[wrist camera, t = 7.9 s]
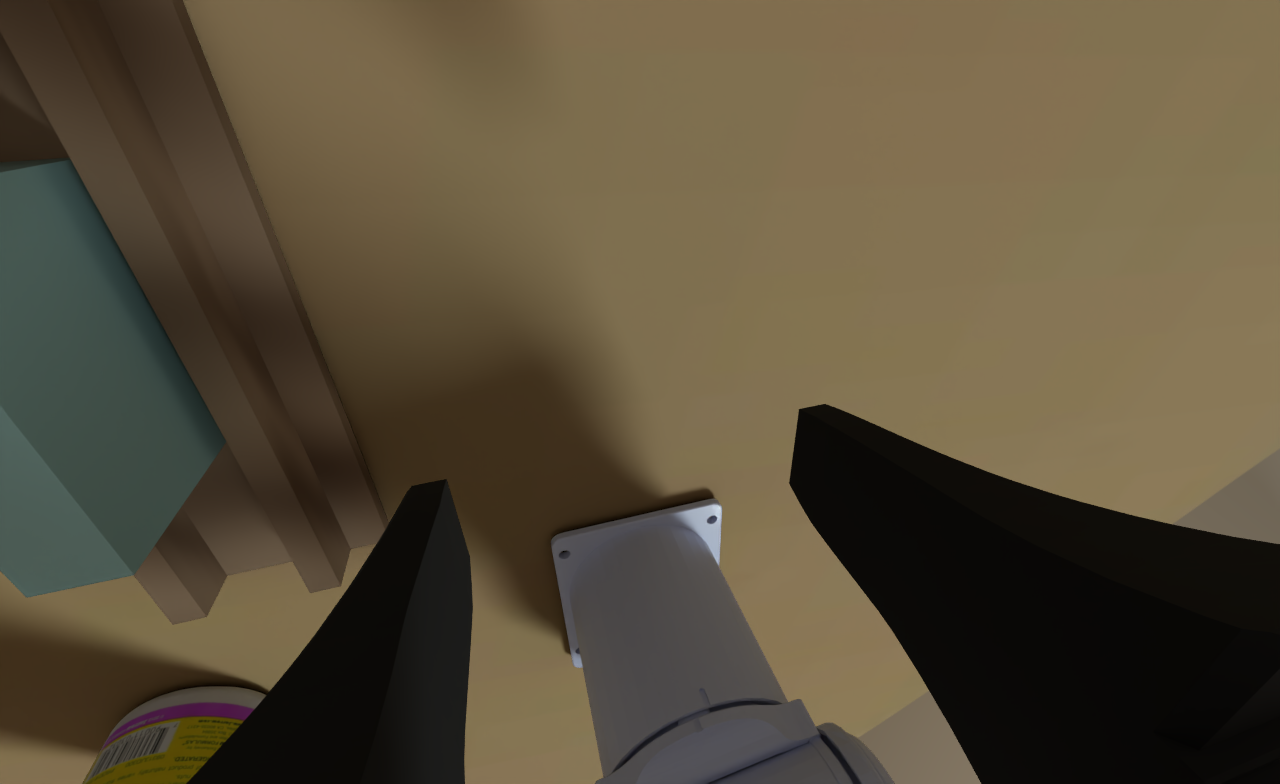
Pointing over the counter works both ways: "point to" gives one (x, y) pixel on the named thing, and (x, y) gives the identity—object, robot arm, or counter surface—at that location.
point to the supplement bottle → (172, 735)
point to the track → (196, 286)
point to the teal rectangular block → (84, 394)
